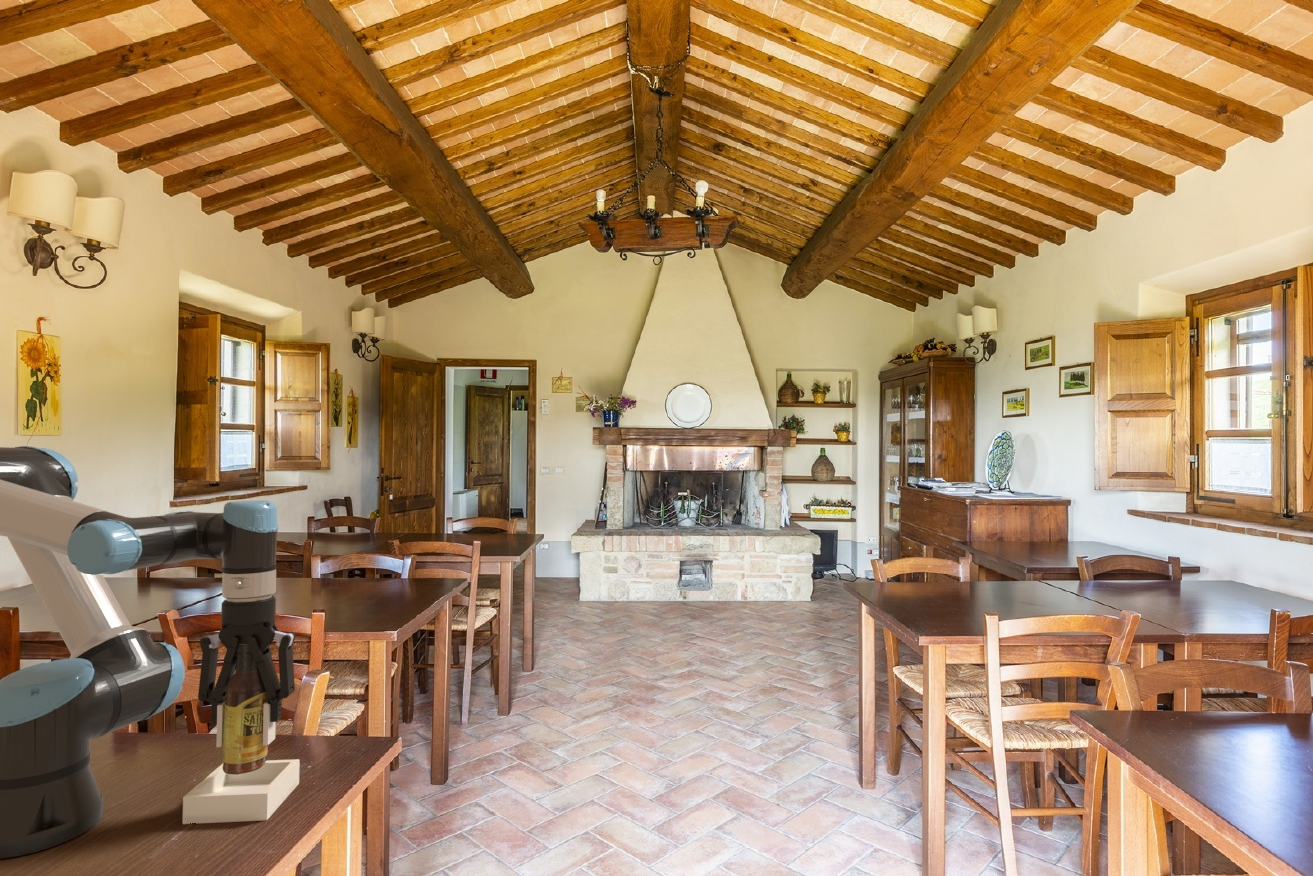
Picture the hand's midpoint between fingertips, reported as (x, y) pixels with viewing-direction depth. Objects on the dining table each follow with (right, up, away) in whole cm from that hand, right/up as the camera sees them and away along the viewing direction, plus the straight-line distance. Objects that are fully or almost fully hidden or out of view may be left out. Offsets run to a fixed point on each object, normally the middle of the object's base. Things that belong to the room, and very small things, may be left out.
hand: (246, 742), depth 111 cm
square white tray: (0, -9, 0) cm, 9 cm away
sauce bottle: (0, -4, 0) cm, 4 cm away
